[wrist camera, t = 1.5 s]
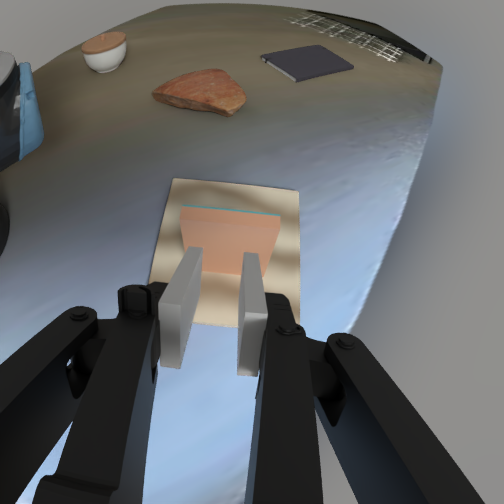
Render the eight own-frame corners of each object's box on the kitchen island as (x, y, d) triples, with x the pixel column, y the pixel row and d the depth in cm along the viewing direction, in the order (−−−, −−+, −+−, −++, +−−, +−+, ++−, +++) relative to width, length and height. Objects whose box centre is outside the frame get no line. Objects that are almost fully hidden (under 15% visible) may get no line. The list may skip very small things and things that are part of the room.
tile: (263, 277, 38) (280, 229, 28) (188, 269, 37) (179, 218, 27) (264, 265, 38) (280, 214, 29) (190, 257, 38) (182, 204, 28)
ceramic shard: (184, 113, 44) (148, 86, 51) (193, 143, 50) (157, 111, 57) (258, 78, 48) (212, 56, 54) (261, 107, 53) (217, 81, 60)
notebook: (295, 84, 61) (352, 70, 68) (296, 78, 59) (354, 65, 67) (259, 60, 65) (318, 48, 72) (259, 55, 63) (319, 44, 71)
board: (297, 332, 36) (299, 330, 35) (144, 316, 35) (142, 314, 34) (297, 195, 45) (298, 191, 44) (174, 182, 44) (173, 178, 43)
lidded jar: (84, 67, 59) (77, 36, 51) (123, 53, 63) (119, 22, 54) (91, 83, 56) (83, 49, 47) (134, 67, 59) (130, 33, 51)
